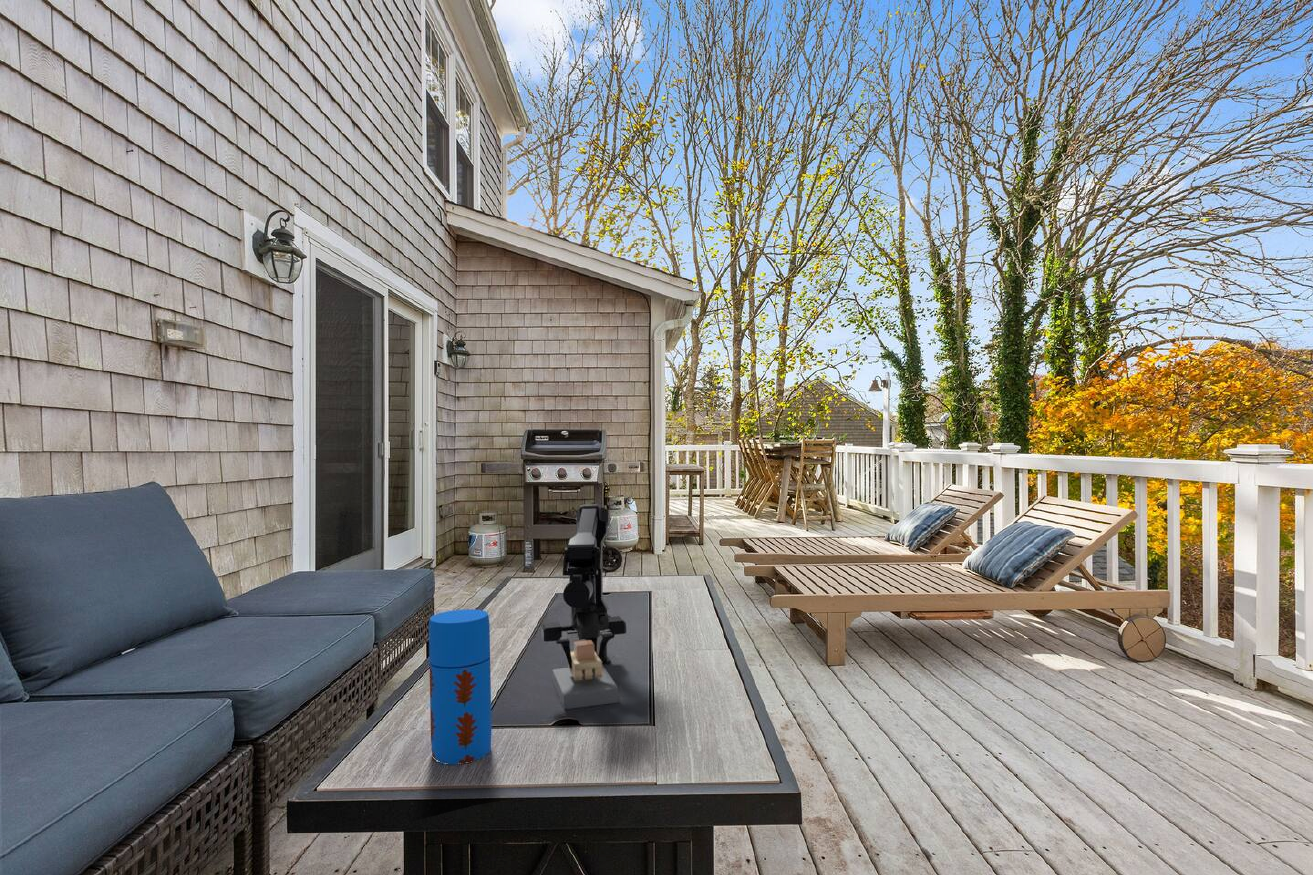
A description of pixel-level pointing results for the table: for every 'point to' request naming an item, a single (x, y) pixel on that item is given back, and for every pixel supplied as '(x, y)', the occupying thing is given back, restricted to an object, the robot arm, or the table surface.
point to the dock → (584, 689)
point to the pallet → (586, 667)
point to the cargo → (584, 650)
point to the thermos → (460, 685)
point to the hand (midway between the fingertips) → (584, 666)
